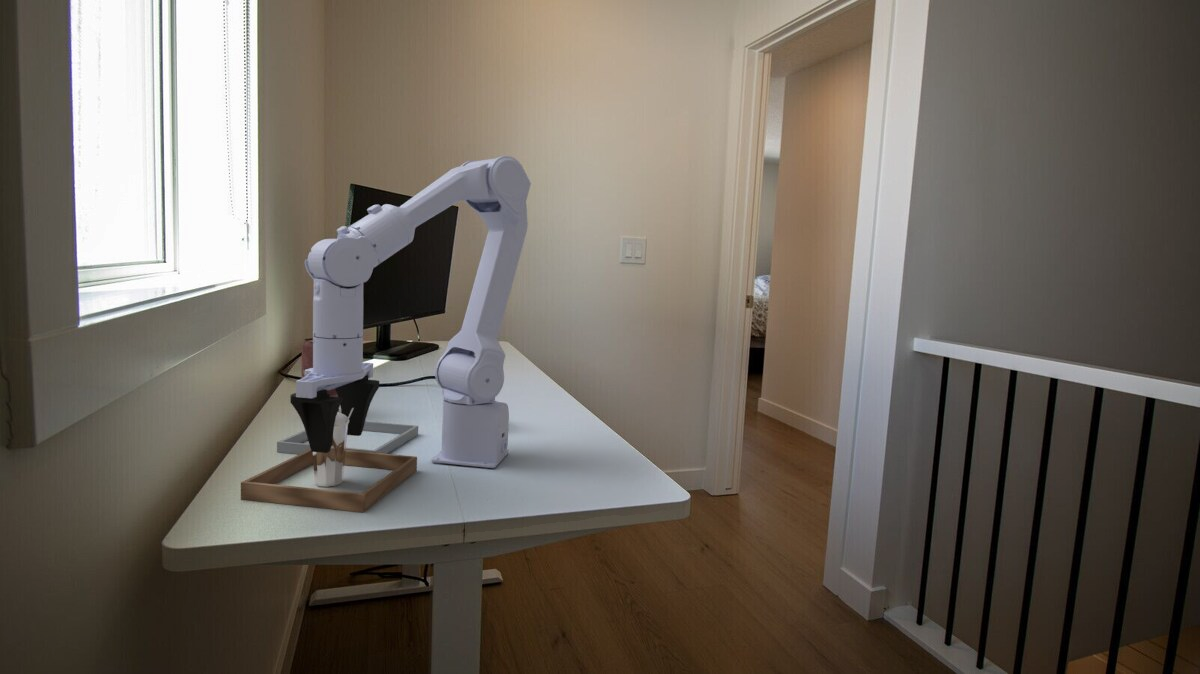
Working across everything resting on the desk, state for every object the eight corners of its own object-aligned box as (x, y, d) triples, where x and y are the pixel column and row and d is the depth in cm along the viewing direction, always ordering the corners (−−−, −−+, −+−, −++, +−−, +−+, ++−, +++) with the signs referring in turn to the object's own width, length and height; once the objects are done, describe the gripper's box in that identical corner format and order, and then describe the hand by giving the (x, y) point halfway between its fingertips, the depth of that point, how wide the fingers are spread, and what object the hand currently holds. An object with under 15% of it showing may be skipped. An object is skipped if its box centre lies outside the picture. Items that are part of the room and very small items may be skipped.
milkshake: (341, 491, 76) (343, 412, 75) (301, 486, 76) (302, 408, 75) (360, 479, 80) (362, 404, 79) (322, 475, 81) (323, 400, 80)
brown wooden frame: (416, 470, 85) (417, 456, 85) (363, 512, 70) (363, 495, 70) (314, 460, 86) (314, 446, 86) (240, 499, 72) (240, 482, 71)
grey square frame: (418, 434, 102) (418, 425, 102) (375, 461, 88) (375, 451, 87) (332, 426, 104) (333, 418, 104) (276, 452, 89) (276, 442, 89)
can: (313, 422, 106) (314, 342, 104) (294, 415, 109) (295, 338, 108) (346, 417, 110) (347, 340, 109) (327, 410, 114) (328, 336, 113)
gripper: (339, 328, 84) (338, 425, 85) (270, 340, 69) (271, 457, 71) (388, 332, 83) (386, 430, 84) (329, 344, 69) (328, 462, 70)
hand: (337, 442), depth 78 cm, fingers open, 7 cm apart
